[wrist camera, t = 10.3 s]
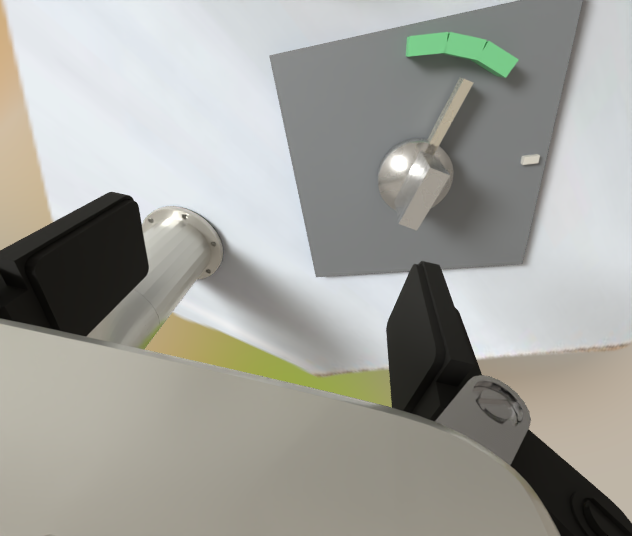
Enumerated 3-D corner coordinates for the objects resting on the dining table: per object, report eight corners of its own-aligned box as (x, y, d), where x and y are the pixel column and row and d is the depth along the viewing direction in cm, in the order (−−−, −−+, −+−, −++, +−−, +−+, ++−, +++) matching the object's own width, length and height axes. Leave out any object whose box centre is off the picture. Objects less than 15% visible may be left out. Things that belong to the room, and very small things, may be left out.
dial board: (317, 271, 48) (313, 286, 45) (273, 55, 33) (262, 55, 30) (517, 257, 42) (530, 274, 39) (576, -12, 27) (604, -21, 24)
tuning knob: (426, 215, 38) (438, 248, 32) (366, 193, 38) (366, 221, 31) (499, 94, 30) (536, 105, 24) (425, 63, 30) (442, 66, 23)
